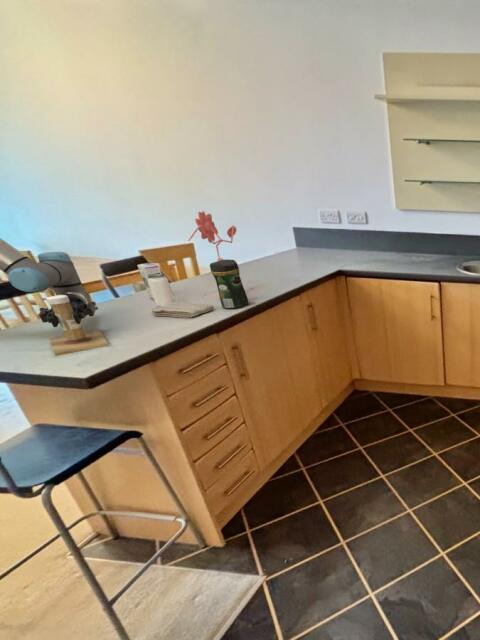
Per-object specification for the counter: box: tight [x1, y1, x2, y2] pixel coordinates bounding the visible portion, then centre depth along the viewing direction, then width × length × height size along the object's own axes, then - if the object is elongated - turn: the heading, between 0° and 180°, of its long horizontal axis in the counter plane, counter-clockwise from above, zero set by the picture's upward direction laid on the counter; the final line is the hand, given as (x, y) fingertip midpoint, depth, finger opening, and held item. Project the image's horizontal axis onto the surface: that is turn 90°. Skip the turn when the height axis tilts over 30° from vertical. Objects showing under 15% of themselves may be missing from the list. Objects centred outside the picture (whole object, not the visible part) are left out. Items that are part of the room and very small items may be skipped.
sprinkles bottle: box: [46, 295, 86, 340], centre depth 129 cm, size 5×5×14 cm
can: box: [147, 274, 177, 307], centre depth 168 cm, size 6×6×12 cm
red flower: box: [187, 210, 254, 301], centre depth 179 cm, size 15×26×35 cm, turn 2°
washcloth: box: [150, 301, 215, 319], centre depth 161 cm, size 12×18×3 cm, turn 84°
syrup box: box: [137, 262, 163, 300], centre depth 177 cm, size 6×6×14 cm
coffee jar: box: [209, 259, 250, 310], centre depth 167 cm, size 10×8×19 cm
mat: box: [49, 329, 109, 357], centre depth 132 cm, size 18×12×1 cm, turn 48°
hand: (65, 321), depth 125 cm, fingers closed on sprinkles bottle, 4 cm apart
